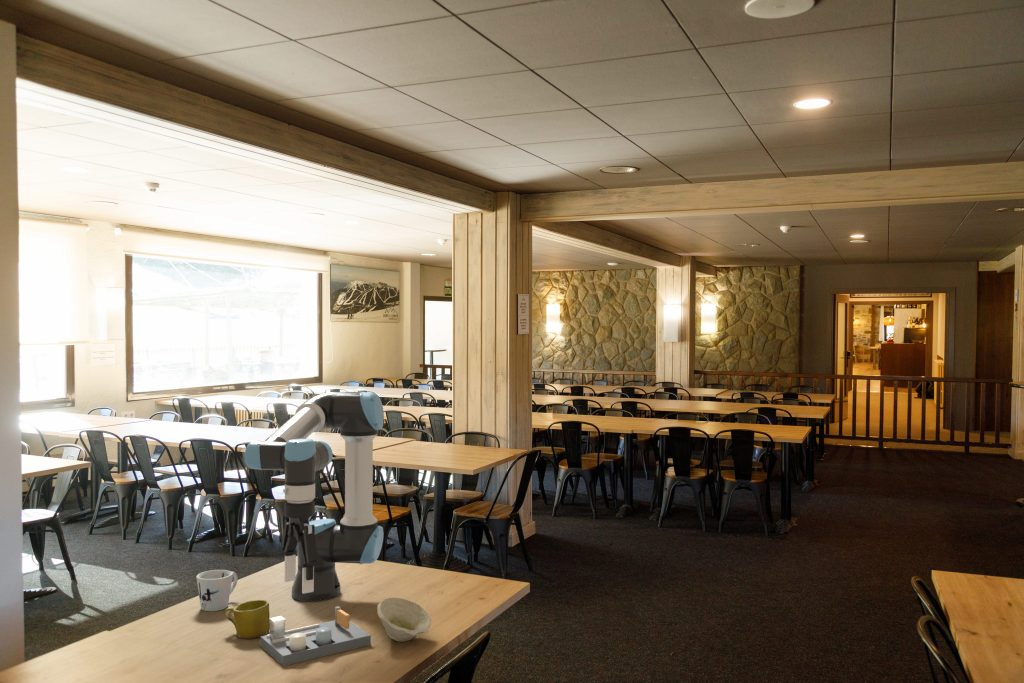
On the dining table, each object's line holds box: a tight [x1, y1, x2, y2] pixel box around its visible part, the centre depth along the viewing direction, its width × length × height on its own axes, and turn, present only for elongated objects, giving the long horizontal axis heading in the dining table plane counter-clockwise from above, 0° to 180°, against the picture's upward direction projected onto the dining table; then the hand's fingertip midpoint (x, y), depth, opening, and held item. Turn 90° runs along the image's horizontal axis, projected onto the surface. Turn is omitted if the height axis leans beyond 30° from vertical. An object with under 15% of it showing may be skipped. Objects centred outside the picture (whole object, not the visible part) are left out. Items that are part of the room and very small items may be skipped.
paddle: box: [334, 606, 350, 629], centre depth 215 cm, size 7×1×5 cm, turn 37°
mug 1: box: [196, 569, 239, 612], centre depth 241 cm, size 10×15×10 cm
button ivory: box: [290, 633, 306, 652], centre depth 201 cm, size 4×4×3 cm
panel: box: [260, 619, 372, 667], centre depth 210 cm, size 16×24×3 cm, turn 127°
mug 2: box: [224, 599, 271, 640], centre depth 218 cm, size 12×10×10 cm
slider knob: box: [269, 615, 287, 640], centre depth 207 cm, size 3×3×5 cm
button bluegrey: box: [316, 627, 332, 646], centre depth 206 cm, size 4×4×3 cm
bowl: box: [376, 597, 432, 643], centre depth 214 cm, size 15×14×10 cm
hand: (298, 586), depth 201 cm, fingers open, 11 cm apart
